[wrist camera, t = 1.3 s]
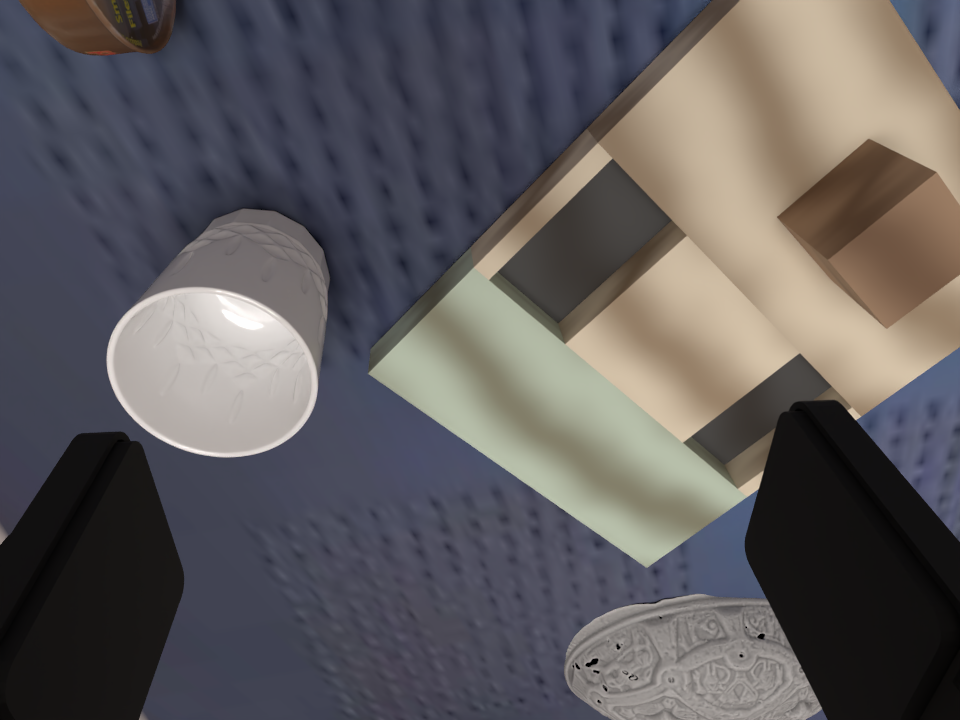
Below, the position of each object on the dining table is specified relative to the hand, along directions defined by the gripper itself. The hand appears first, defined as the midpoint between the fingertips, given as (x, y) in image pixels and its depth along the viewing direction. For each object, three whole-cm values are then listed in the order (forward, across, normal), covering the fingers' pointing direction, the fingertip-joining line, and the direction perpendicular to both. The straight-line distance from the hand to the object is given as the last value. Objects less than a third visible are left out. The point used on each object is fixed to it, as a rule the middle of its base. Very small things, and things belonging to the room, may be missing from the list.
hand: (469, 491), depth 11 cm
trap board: (+26, -14, +11) cm, 31 cm away
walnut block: (+23, -20, +5) cm, 31 cm away
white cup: (+26, +9, +8) cm, 29 cm away
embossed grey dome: (+26, -20, +43) cm, 54 cm away
